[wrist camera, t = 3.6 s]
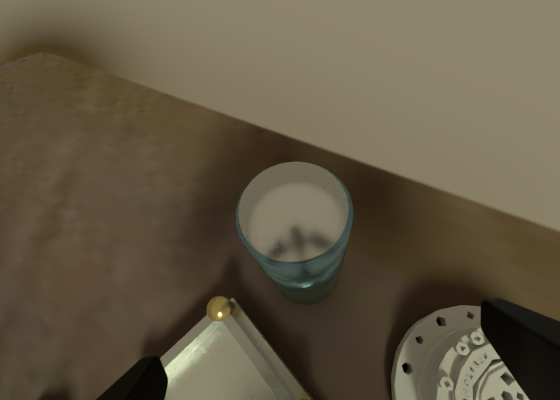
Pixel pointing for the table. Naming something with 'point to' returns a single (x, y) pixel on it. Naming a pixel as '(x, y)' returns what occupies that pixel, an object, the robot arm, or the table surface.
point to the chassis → (228, 360)
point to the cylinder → (297, 228)
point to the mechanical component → (451, 361)
